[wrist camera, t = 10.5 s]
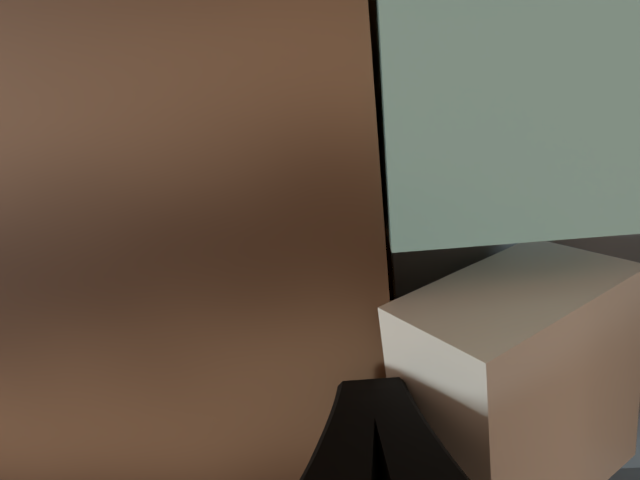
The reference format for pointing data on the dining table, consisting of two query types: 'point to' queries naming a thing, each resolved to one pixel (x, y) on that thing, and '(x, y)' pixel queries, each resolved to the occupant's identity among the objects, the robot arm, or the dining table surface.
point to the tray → (431, 265)
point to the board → (184, 234)
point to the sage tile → (506, 120)
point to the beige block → (525, 362)
